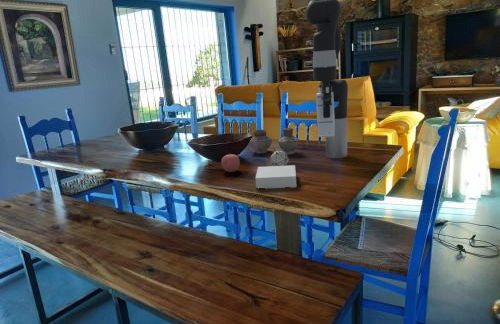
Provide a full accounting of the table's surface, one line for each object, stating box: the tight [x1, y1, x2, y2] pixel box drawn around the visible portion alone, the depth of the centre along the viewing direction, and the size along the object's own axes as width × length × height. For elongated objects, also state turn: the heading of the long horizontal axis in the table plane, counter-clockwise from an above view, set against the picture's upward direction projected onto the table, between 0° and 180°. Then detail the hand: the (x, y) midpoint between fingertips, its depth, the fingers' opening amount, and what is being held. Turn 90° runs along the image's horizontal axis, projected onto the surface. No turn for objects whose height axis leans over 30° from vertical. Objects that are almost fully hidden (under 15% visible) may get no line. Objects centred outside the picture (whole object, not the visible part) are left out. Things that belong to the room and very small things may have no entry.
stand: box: [255, 164, 297, 190], centre depth 134 cm, size 14×14×4 cm
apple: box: [220, 153, 240, 173], centre depth 151 cm, size 7×7×8 cm
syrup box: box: [315, 92, 335, 138], centre depth 125 cm, size 6×6×14 cm
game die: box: [267, 148, 292, 166], centre depth 150 cm, size 9×8×10 cm
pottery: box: [249, 127, 300, 155], centre depth 178 cm, size 11×25×12 cm, turn 66°
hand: (325, 116), depth 125 cm, fingers closed on syrup box, 6 cm apart
